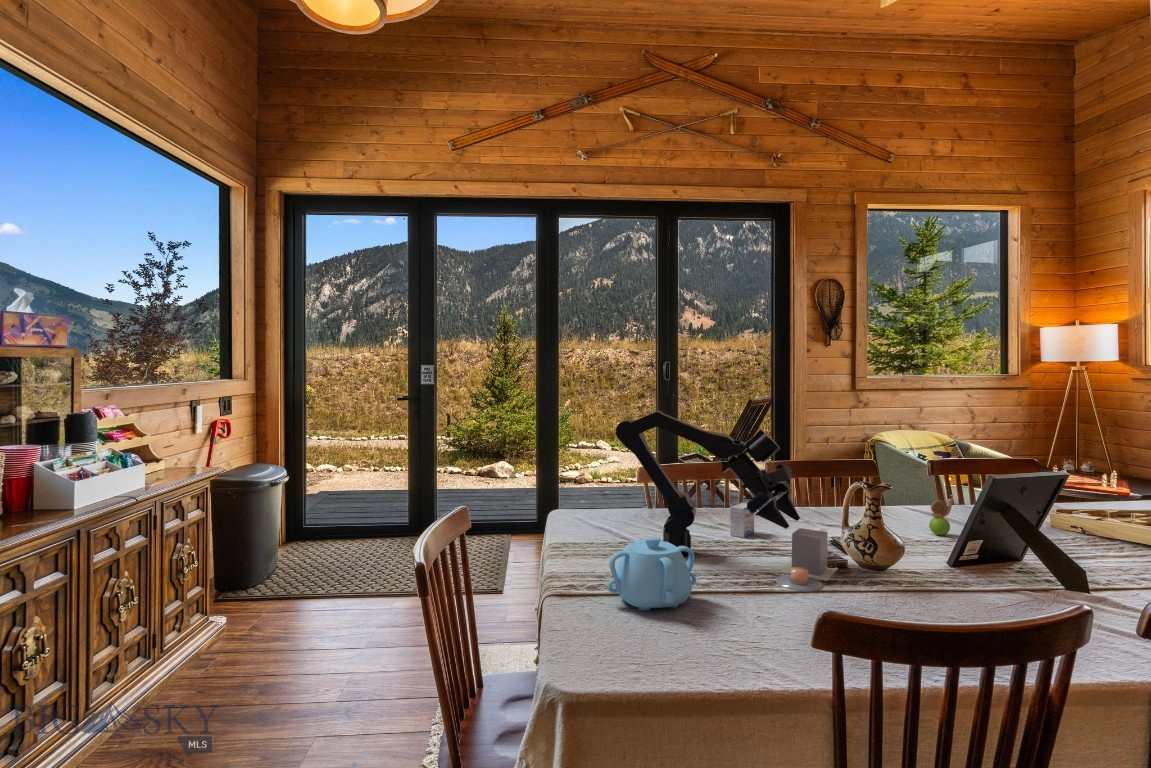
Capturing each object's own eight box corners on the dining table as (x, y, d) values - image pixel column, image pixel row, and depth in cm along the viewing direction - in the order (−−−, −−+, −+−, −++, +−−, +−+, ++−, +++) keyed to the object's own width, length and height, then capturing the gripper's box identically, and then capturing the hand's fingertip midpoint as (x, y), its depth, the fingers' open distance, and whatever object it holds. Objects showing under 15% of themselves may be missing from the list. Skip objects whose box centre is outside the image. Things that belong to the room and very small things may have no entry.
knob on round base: (796, 595, 139) (796, 579, 139) (766, 580, 148) (767, 565, 148) (832, 589, 142) (832, 573, 142) (801, 575, 152) (801, 560, 152)
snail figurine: (957, 537, 186) (958, 496, 185) (935, 537, 186) (936, 496, 186) (946, 532, 191) (947, 493, 191) (925, 532, 191) (926, 492, 191)
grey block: (791, 570, 154) (792, 533, 154) (799, 563, 160) (799, 528, 159) (819, 576, 150) (820, 538, 150) (826, 568, 156) (827, 532, 155)
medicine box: (744, 538, 184) (744, 508, 184) (729, 535, 187) (729, 506, 186) (754, 532, 190) (754, 503, 190) (740, 530, 193) (740, 501, 193)
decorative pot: (668, 623, 124) (669, 554, 123) (599, 604, 133) (599, 539, 133) (703, 598, 137) (704, 536, 136) (638, 582, 146) (639, 524, 146)
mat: (779, 573, 154) (779, 571, 154) (792, 561, 163) (792, 559, 163) (827, 582, 147) (827, 580, 147) (838, 569, 156) (838, 568, 156)
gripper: (759, 458, 152) (807, 510, 146) (783, 450, 167) (827, 496, 161) (728, 488, 157) (772, 539, 151) (753, 477, 172) (795, 523, 166)
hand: (793, 523), depth 157 cm, fingers open, 9 cm apart
